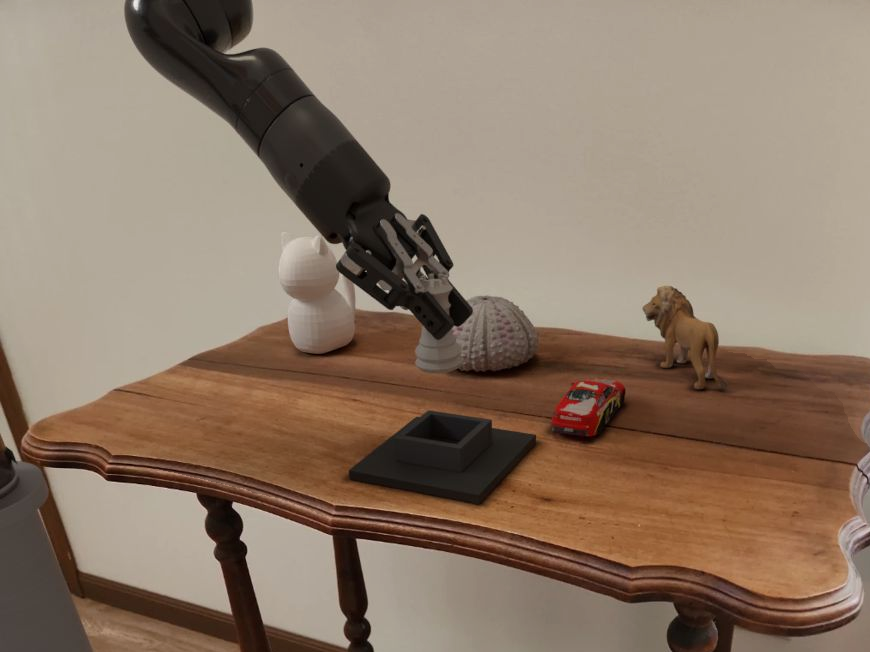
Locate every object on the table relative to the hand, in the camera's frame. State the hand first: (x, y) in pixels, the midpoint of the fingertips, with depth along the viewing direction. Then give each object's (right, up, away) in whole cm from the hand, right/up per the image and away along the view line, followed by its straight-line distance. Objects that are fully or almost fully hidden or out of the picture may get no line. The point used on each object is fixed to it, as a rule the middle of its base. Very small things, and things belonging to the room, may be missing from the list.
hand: (456, 325), depth 73 cm
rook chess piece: (-2, -3, +3) cm, 5 cm away
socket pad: (-1, -11, +9) cm, 14 cm away
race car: (+15, -5, +16) cm, 22 cm away
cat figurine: (-18, +11, +40) cm, 45 cm away
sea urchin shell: (+4, +6, +32) cm, 33 cm away
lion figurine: (+28, +3, +25) cm, 37 cm away
